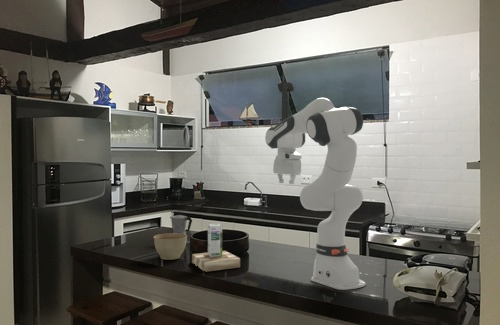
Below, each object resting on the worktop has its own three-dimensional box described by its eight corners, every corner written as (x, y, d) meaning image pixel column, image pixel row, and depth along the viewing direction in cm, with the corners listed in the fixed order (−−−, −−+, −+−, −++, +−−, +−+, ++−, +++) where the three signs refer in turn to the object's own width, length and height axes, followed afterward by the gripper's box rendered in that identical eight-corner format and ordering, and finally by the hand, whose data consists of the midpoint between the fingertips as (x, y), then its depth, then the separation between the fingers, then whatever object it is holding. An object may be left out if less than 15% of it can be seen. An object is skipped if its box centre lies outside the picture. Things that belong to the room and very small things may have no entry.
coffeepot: (164, 243, 239) (165, 212, 239) (175, 240, 247) (175, 210, 247) (186, 246, 232) (186, 213, 232) (196, 243, 240) (196, 211, 240)
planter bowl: (193, 256, 207) (193, 235, 207) (170, 263, 194) (170, 240, 194) (170, 252, 216) (170, 231, 216) (146, 258, 203) (146, 236, 203)
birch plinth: (240, 267, 189) (240, 257, 189) (204, 271, 181) (204, 261, 181) (225, 258, 204) (225, 250, 204) (192, 262, 196) (192, 253, 196)
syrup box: (210, 257, 189) (210, 225, 189) (207, 254, 195) (207, 223, 194) (222, 256, 191) (222, 225, 190) (219, 253, 196) (219, 222, 196)
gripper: (270, 155, 211) (270, 182, 211) (292, 155, 192) (292, 185, 193) (281, 155, 214) (280, 182, 214) (303, 155, 195) (303, 184, 196)
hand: (286, 183), depth 203 cm, fingers open, 8 cm apart
